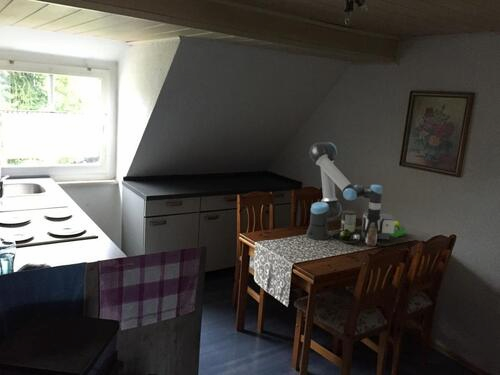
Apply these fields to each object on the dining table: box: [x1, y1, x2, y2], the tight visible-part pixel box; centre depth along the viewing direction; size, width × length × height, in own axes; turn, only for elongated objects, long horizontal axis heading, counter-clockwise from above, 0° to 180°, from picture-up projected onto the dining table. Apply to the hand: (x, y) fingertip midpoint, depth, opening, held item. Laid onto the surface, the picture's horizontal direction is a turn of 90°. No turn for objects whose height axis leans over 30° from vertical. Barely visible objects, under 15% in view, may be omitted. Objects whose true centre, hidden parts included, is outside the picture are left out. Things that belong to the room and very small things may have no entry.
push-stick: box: [364, 226, 377, 247], centre depth 282 cm, size 5×15×12 cm, turn 176°
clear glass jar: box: [340, 209, 357, 233], centre depth 308 cm, size 10×10×14 cm
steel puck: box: [352, 233, 361, 241], centre depth 289 cm, size 4×4×3 cm
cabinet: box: [360, 211, 397, 240], centre depth 289 cm, size 19×16×17 cm
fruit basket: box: [390, 219, 407, 238], centre depth 302 cm, size 11×9×11 cm
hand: (370, 242), depth 278 cm, fingers closed on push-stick, 5 cm apart
